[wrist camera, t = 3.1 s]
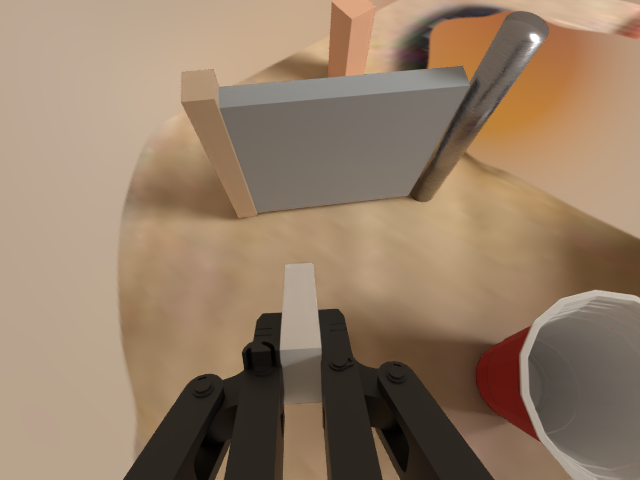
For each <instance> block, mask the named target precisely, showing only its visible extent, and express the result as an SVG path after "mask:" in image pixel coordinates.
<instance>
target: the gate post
mask: <svg viewBox="0 0 640 480" xmlns="http://www.w3.org/2000/svg"><path fill="white" fill-rule="evenodd" d="M548 34H549V28H548V25H547V24H546V22H545V21H544V20H543V19H542V18H540V17H539V16H537V15H535V14H533V13H529V12H524V11H518V12H513V13H511V14H509V15H508V16H507V17H506V18H505V20H504V21H503V23H502V25H501V27H500V29H499V31H498V32H497V34H496V36H495V38H494V40H493V41H492V43H491V45H490V47H489V49H488V50H487V52H486V54H485V56H484V58H483V59H482V61H481V63H480V65H479V67H478V69H477V70H476V72H475V74H474V76H473V78H472V79H471V81H470V87H469V89H468V90H467V92H466V94H465V96H464V98H463V99H462V101H461V103H460V105H459V106H458V108H457V110H456V112H455V114H454V115H453V117H452V119H451V121H450V122H449V124H448V126H447V128H446V130H445V131H444V133H443V135H442V137H441V138H440V140H439V142H438V144H437V146H436V147H435V149H434V151H433V153H432V154H431V156H430V158H429V160H428V162H427V163H426V165H425V167H424V169H423V170H422V172H421V174H420V176H419V178H418V179H417V181H416V183H415V185H414V186H413V188H412V190H411V194H412V196H413V197H414V198H415V199H416V200H418V201H421V202H427V201H429V200H431V199H432V198H433V196H434V195H435V193H436V192H437V191H438V189H439V188H440V186H441V185H442V183H443V182H444V181H445V179H446V178H447V176H448V175H449V174H450V172H451V171H452V169H453V168H454V167H455V165H456V164H457V162H458V161H459V160H460V158H461V157H462V155H463V154H464V153H465V151H466V150H467V148H468V147H469V145H470V144H471V143H472V141H473V140H474V139H475V137H476V136H477V134H478V133H479V132H480V130H481V129H482V127H483V126H484V125H485V123H486V122H487V120H488V119H489V117H490V116H491V115H492V113H493V112H494V110H495V109H496V108H497V106H498V105H499V103H500V102H501V100H502V99H503V98H504V96H505V95H506V94H507V92H508V91H509V89H510V88H511V87H512V85H513V84H514V82H515V81H516V79H517V78H518V77H519V75H520V74H521V73H522V71H523V70H524V68H525V67H526V65H527V64H528V63H529V61H530V60H531V59H532V57H533V56H534V54H535V53H536V51H537V50H538V49H539V47H540V46H541V44H542V43H543V42H544V40H545V39H546V37H547V36H548Z"/></svg>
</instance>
